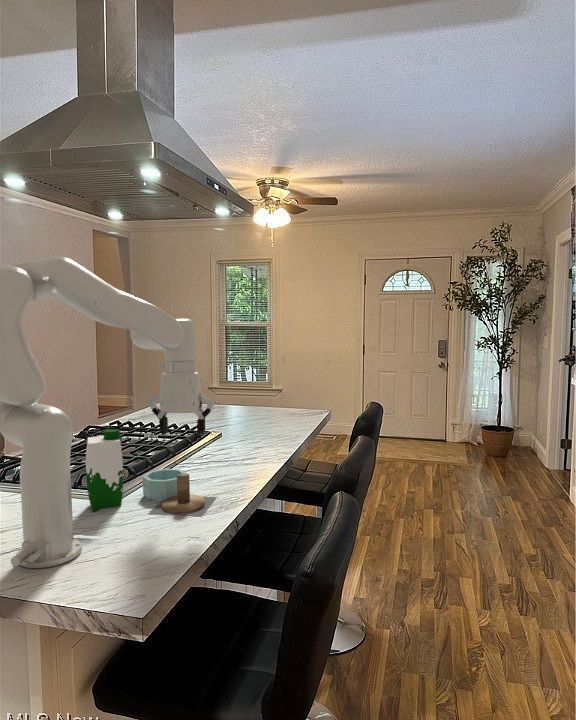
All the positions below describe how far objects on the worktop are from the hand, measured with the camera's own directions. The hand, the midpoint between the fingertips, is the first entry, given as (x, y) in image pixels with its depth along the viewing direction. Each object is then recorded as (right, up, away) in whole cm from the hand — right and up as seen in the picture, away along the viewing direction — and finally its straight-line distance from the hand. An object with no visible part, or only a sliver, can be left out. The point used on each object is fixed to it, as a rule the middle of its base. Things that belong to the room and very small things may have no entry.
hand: (182, 433), depth 138 cm
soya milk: (-21, -20, +3) cm, 29 cm away
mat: (0, -19, +1) cm, 20 cm away
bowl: (-7, -19, +10) cm, 22 cm away
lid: (0, -19, +1) cm, 19 cm away
